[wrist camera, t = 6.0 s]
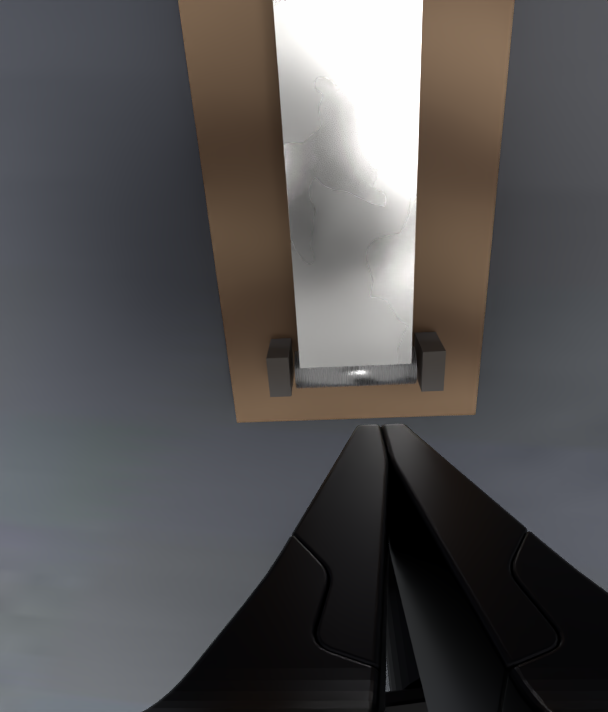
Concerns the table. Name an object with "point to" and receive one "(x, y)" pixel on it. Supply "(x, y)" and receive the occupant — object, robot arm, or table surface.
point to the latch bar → (351, 184)
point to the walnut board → (271, 217)
